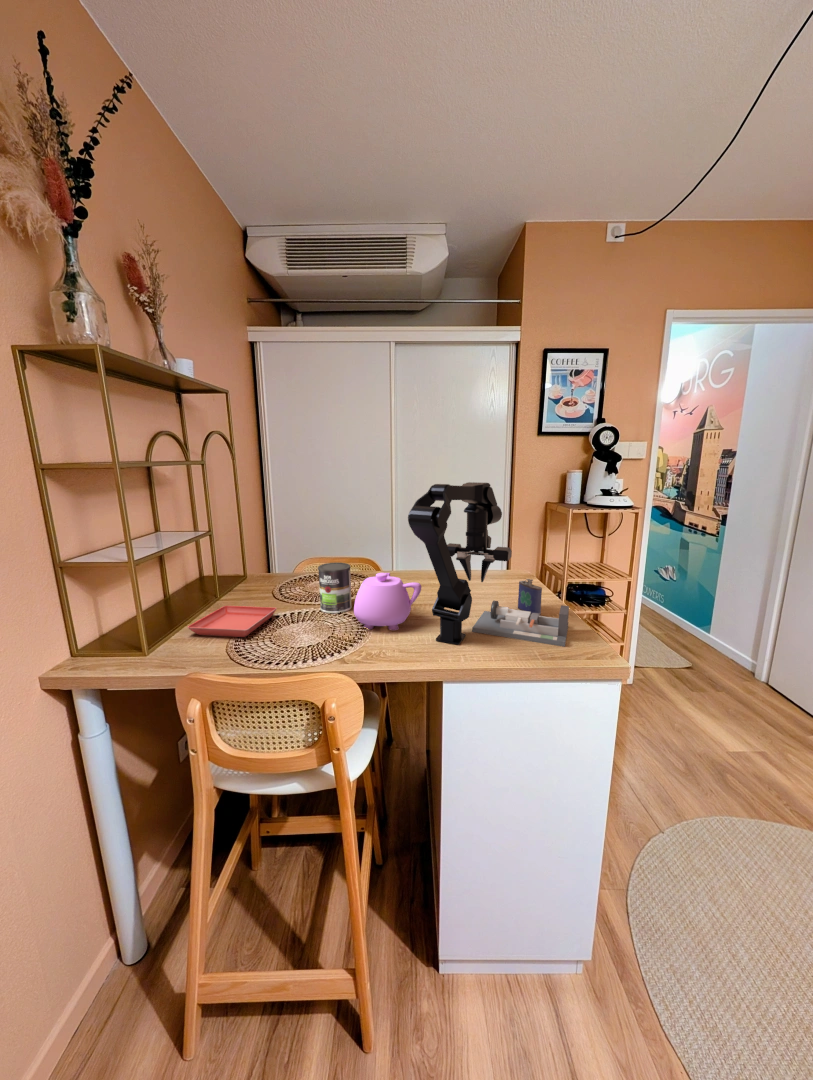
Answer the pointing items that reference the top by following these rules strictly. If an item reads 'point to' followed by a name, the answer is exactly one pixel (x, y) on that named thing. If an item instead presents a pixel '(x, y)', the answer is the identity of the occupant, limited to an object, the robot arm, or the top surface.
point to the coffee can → (335, 587)
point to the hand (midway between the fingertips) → (476, 581)
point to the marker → (534, 619)
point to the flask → (529, 597)
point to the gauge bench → (526, 628)
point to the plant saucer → (232, 621)
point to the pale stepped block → (509, 613)
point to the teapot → (384, 601)
